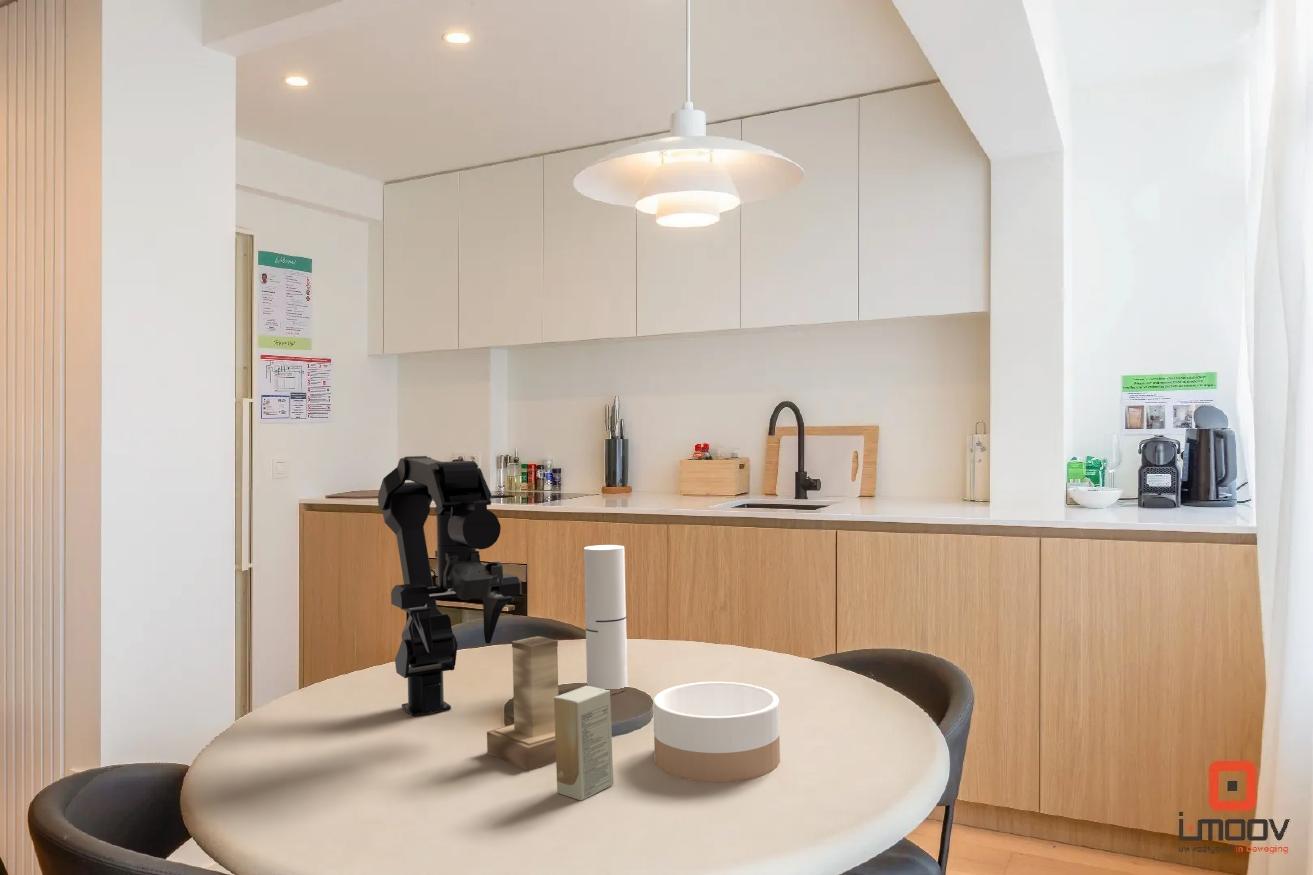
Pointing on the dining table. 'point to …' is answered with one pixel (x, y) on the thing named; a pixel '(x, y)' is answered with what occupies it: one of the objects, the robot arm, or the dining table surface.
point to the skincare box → (583, 742)
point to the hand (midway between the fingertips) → (459, 647)
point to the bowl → (716, 731)
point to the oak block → (535, 684)
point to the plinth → (522, 747)
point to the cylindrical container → (605, 616)
